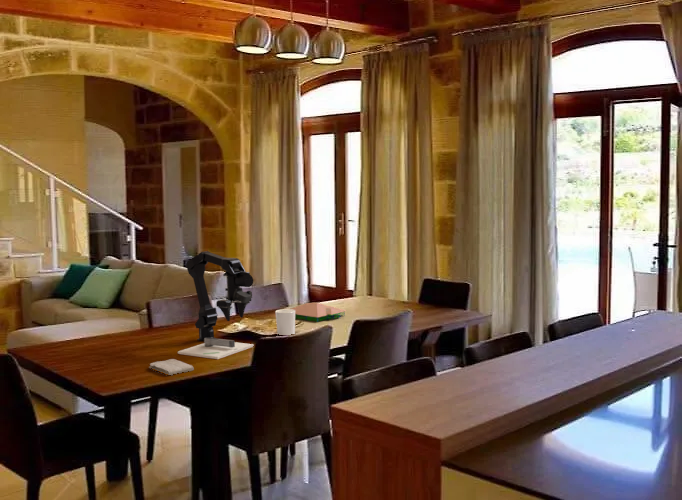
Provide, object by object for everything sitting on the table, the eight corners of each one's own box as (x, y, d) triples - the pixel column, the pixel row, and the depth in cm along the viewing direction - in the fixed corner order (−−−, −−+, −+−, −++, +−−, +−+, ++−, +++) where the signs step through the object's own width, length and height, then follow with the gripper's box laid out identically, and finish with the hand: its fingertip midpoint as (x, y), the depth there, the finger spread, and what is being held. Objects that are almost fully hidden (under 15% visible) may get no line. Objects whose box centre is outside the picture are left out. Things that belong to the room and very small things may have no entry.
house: (321, 324, 380) (321, 308, 379) (278, 317, 402) (278, 302, 402) (350, 316, 397) (350, 302, 396) (307, 310, 419) (307, 296, 418)
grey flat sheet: (177, 353, 323) (177, 351, 322) (214, 341, 344) (214, 339, 344) (217, 359, 311) (217, 356, 311) (253, 346, 332) (253, 344, 332)
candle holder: (278, 338, 348) (277, 313, 347) (274, 333, 358) (273, 309, 356) (298, 336, 351) (297, 311, 350) (294, 332, 360) (293, 308, 359)
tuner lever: (202, 346, 331) (202, 338, 330) (208, 344, 334) (208, 336, 334) (230, 349, 322) (230, 341, 322) (236, 347, 326) (236, 339, 325)
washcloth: (172, 363, 307) (172, 356, 307) (195, 371, 294) (195, 364, 294) (147, 369, 299) (146, 362, 299) (169, 377, 286) (168, 370, 286)
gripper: (233, 289, 322) (235, 324, 324) (259, 283, 338) (261, 316, 339) (214, 288, 328) (216, 322, 329) (241, 282, 344) (242, 315, 345)
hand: (235, 319), depth 336 cm, fingers open, 9 cm apart
